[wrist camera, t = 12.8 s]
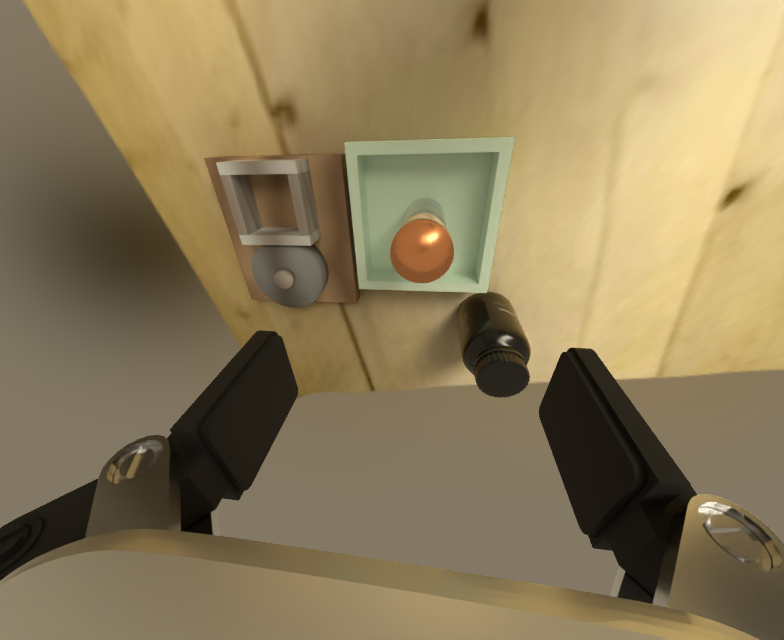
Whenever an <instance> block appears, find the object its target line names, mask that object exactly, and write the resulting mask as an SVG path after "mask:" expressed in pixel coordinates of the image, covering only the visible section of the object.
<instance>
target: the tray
mask: <svg viewBox="0 0 784 640" xmlns="http://www.w3.org/2000/svg"><path fill="white" fill-rule="evenodd" d="M514 139H515V137H484V138H451V139H419V140H386V141H354V142H344V144H345V154H346V164H347V174H348V184H349V194H350V204H351V214H352V224H353V234H354V244H355V254H356V264H357V274H358V284H359V289H374V290H406V291H438V292H470V293H487V290H488V285H489V279H490V273H491V268H492V262H493V257H494V251H495V245H496V240H497V234H498V229H499V223H500V217H501V212H502V206H503V201H504V195H505V189H506V184H507V178H508V172H509V167H510V161H511V156H512V150H513V144H514ZM420 198H432V199H434V200H436V201H437V202H438V203H439V204H440V205H441V207H442V209H443V211H444V217H445V224H446V229H447V231H448V232H449V234H450V236H451V238H452V242H453V247H454V257H453V261H452V264H451V266H450V268H449V269H448V271H447V272H446V273H445V274H444V275H443V276H442V277H440V278H439V279H437V280H435V281H433V282H429V283H414V282H411V281H408V280H406V279H404V278H403V277H402V276H400V275H399V274H398V273H397V271H396V270H395V269H394V267H393V265H392V262H391V258H390V249H391V244H392V241H393V239H394V236H395V234H396V233H397V231H398V230H399V229H400V228H401V227H402V225H403V222H404V219H405V216H406V213H407V210H408V208H409V206H410V205H411V204H412V203H413V202H414V201H415V200H417V199H420Z"/></svg>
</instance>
